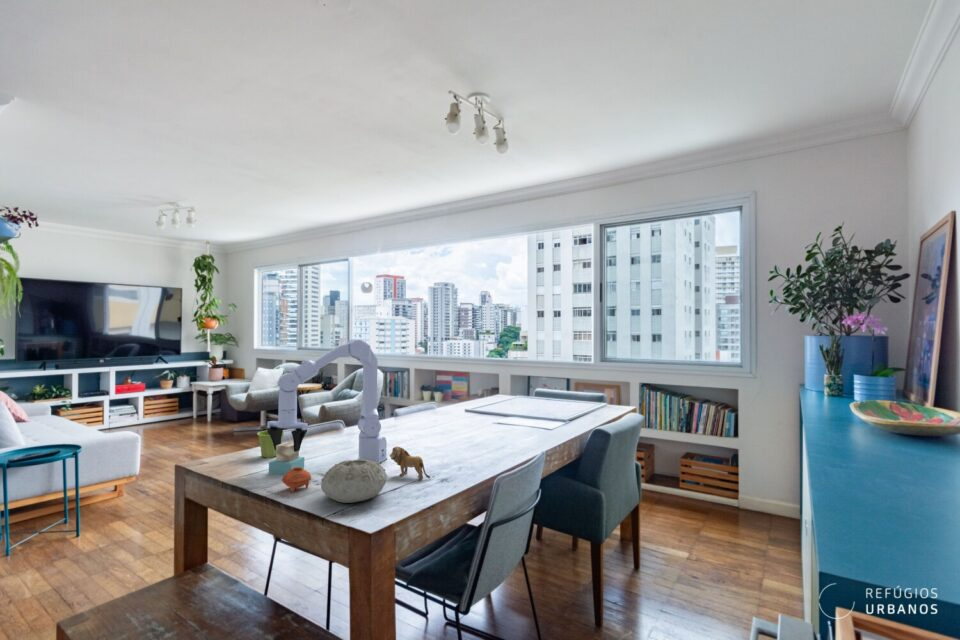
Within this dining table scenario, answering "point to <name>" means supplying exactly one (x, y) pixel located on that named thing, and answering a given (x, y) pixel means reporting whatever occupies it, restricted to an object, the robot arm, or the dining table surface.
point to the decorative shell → (354, 480)
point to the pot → (296, 478)
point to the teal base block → (285, 465)
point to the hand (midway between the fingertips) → (287, 450)
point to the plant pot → (267, 444)
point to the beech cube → (286, 452)
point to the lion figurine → (407, 461)
